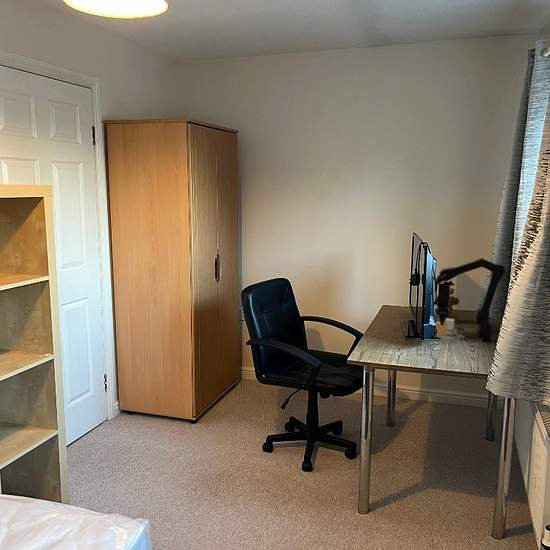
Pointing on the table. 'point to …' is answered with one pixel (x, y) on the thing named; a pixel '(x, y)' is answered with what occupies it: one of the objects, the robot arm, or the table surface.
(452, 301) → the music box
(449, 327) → the matte ivory cube
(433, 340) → the table surface
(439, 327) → the matte amber box
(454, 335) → the plate
